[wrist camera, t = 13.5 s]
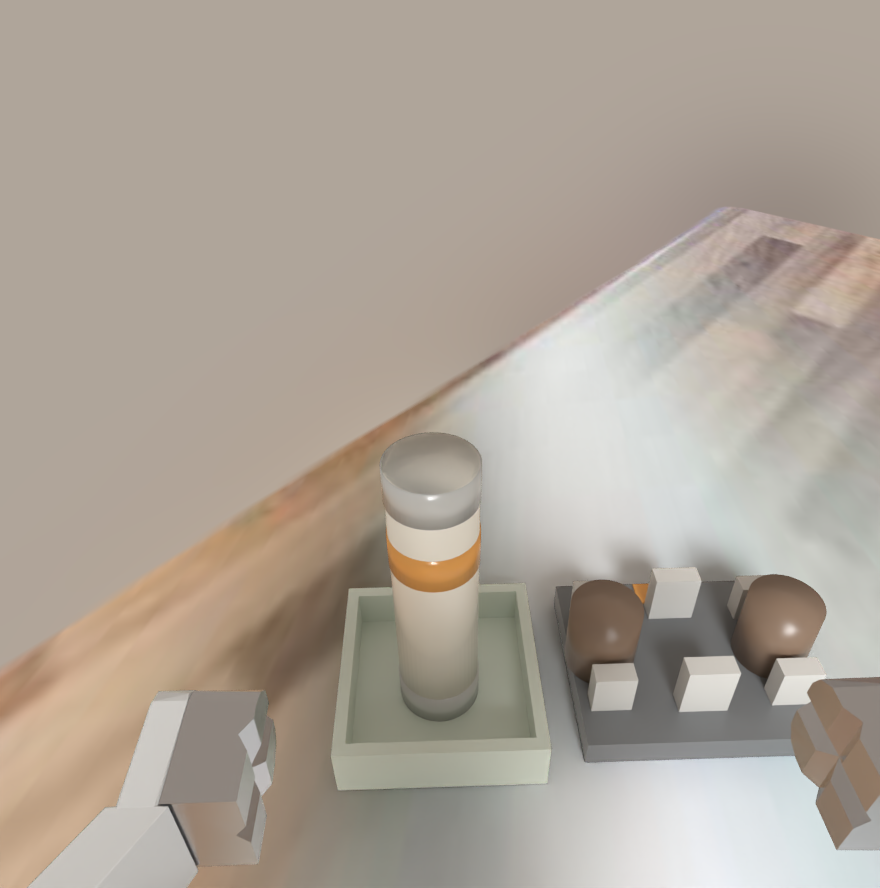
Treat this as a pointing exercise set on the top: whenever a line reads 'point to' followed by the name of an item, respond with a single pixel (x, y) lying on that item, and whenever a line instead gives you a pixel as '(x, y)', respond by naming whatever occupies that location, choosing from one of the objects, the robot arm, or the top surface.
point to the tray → (447, 742)
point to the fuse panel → (686, 680)
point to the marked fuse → (434, 569)
